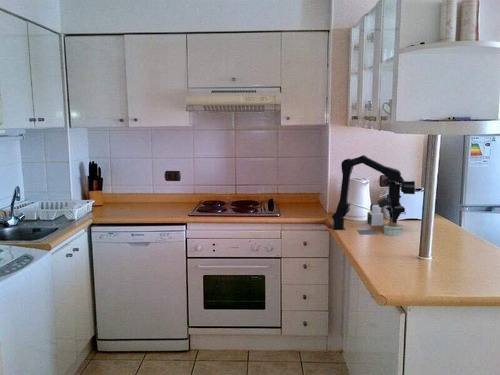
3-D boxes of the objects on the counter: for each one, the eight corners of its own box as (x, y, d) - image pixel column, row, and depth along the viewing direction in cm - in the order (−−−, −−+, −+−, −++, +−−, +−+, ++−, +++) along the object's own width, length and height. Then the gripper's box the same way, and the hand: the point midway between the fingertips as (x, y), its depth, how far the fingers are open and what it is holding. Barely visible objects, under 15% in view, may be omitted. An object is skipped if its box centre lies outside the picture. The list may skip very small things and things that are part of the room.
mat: (356, 230, 241) (356, 230, 241) (374, 230, 241) (374, 229, 241) (360, 235, 232) (360, 234, 232) (379, 235, 231) (379, 234, 231)
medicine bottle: (367, 223, 258) (367, 203, 256) (378, 223, 259) (379, 203, 257) (371, 226, 251) (371, 205, 249) (383, 226, 252) (383, 205, 250)
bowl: (381, 231, 239) (382, 224, 238) (398, 231, 238) (398, 224, 238) (386, 236, 230) (386, 228, 229) (403, 235, 230) (404, 228, 229)
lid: (380, 224, 238) (381, 216, 238) (399, 224, 238) (399, 215, 238) (386, 228, 229) (386, 220, 228) (405, 228, 228) (405, 220, 228)
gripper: (374, 190, 240) (373, 218, 243) (383, 196, 222) (382, 226, 224) (394, 190, 240) (393, 218, 242) (405, 196, 221) (404, 226, 224)
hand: (393, 222), depth 233 cm, fingers open, 4 cm apart
